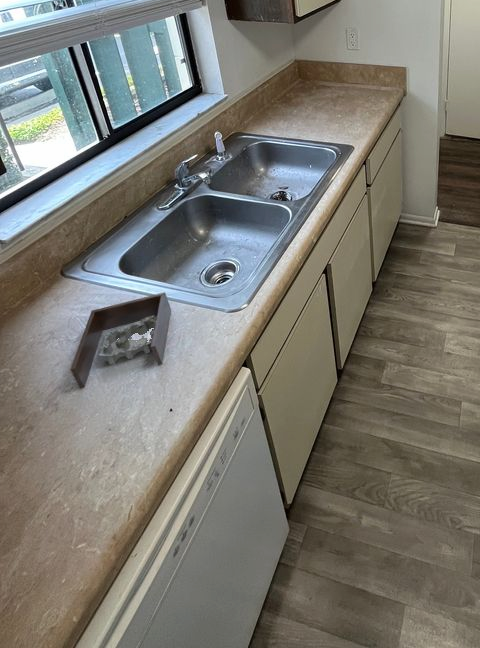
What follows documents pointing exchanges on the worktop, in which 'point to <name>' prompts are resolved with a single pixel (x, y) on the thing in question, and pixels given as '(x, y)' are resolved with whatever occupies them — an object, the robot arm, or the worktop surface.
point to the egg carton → (123, 346)
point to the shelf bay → (118, 317)
